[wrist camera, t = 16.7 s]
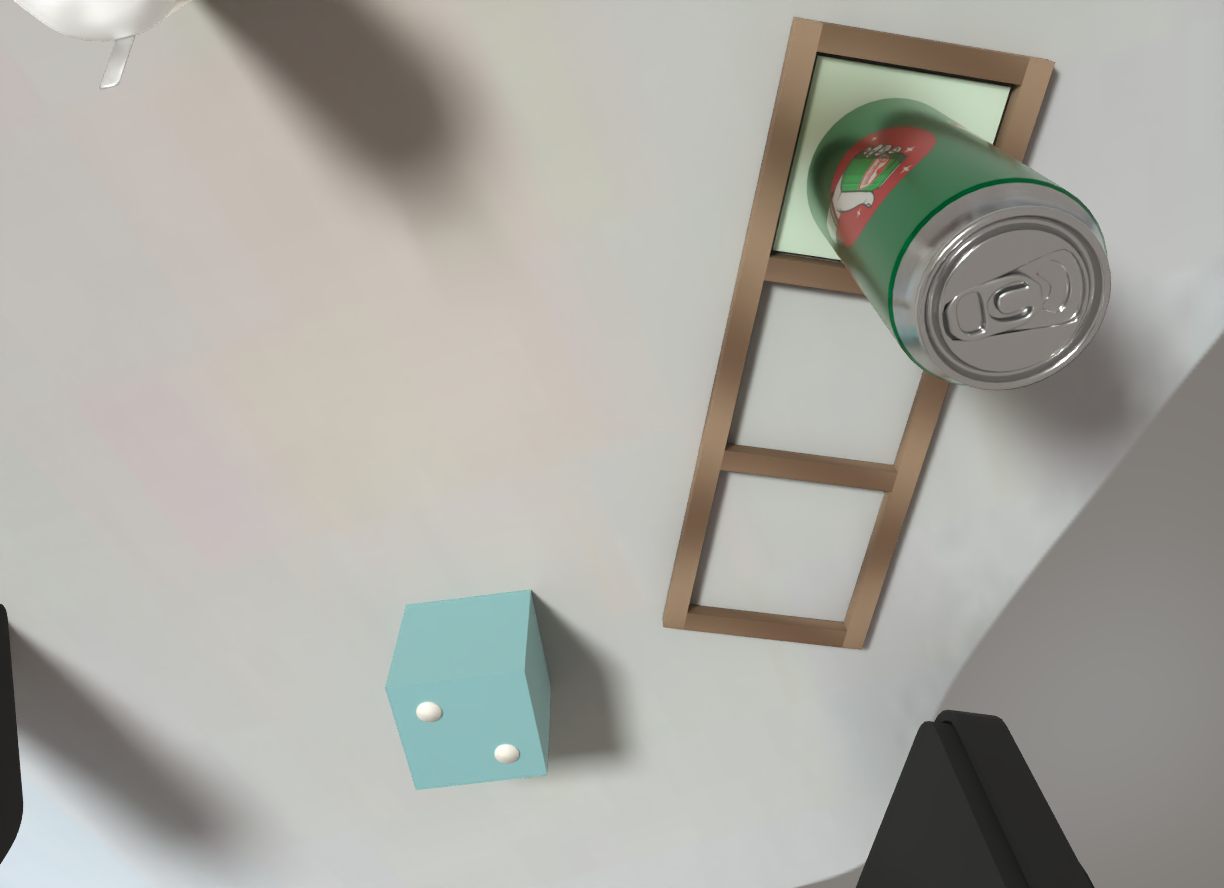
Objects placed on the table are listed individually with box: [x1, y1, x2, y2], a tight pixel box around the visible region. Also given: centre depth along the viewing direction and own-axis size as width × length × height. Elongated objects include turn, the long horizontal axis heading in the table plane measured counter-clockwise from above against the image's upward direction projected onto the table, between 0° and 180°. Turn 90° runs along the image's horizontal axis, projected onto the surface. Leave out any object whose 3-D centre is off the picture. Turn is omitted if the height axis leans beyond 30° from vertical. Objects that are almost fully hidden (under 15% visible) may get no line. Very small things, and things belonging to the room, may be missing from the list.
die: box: [385, 590, 551, 790], centre depth 41 cm, size 5×5×5 cm
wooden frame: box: [663, 17, 1055, 650], centre depth 37 cm, size 23×8×1 cm, turn 171°
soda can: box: [807, 98, 1111, 390], centre depth 29 cm, size 5×5×12 cm
